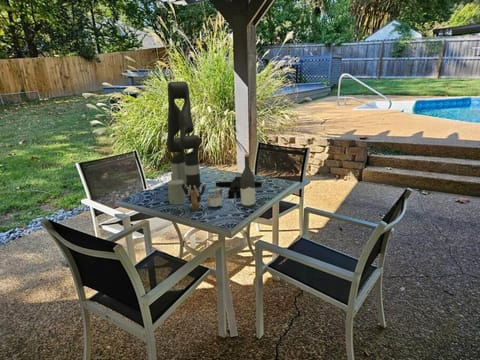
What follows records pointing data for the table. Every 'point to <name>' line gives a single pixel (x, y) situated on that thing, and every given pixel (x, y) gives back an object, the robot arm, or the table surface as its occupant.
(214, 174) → the table surface
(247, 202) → the wine bottle
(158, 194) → the table surface
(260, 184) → the toy
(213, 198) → the mug
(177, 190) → the speckled stone cylinder
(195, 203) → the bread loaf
